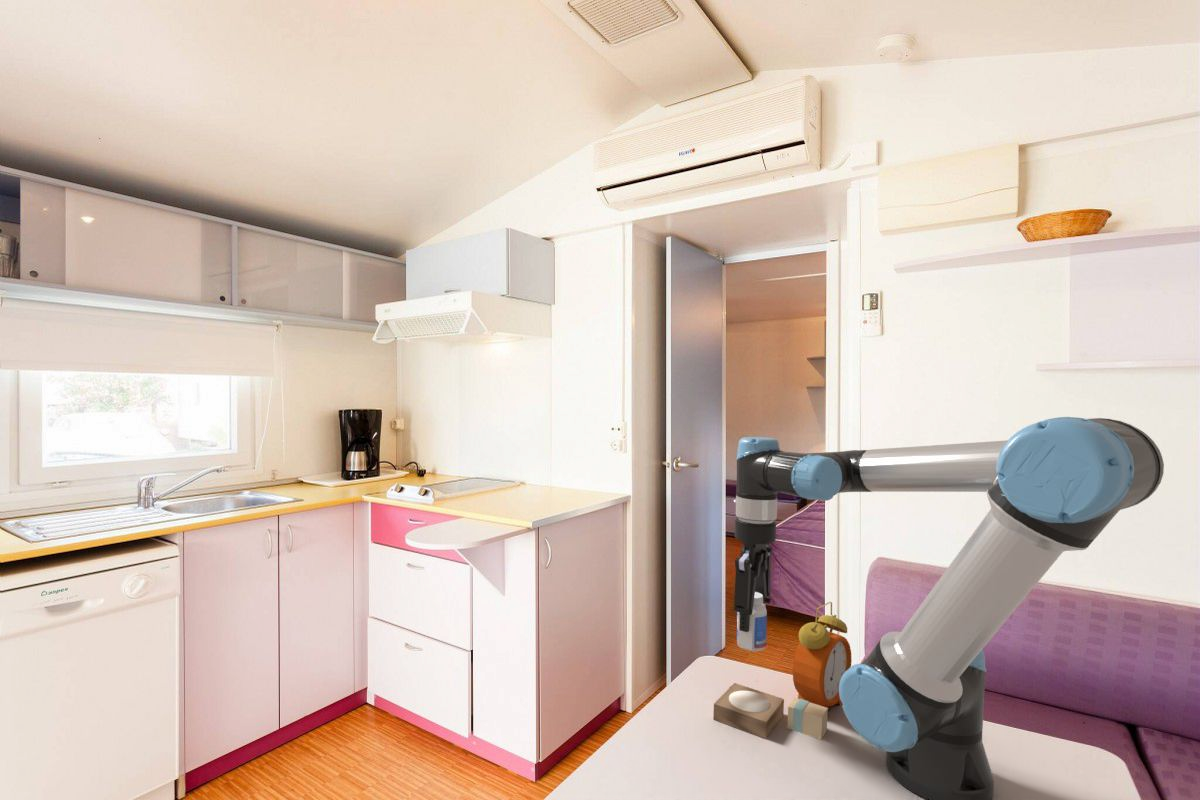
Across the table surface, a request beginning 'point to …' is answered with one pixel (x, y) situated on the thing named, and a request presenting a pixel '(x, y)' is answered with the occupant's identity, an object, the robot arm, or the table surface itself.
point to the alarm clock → (821, 660)
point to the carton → (807, 718)
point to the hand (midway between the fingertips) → (751, 641)
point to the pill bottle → (758, 623)
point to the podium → (749, 710)
